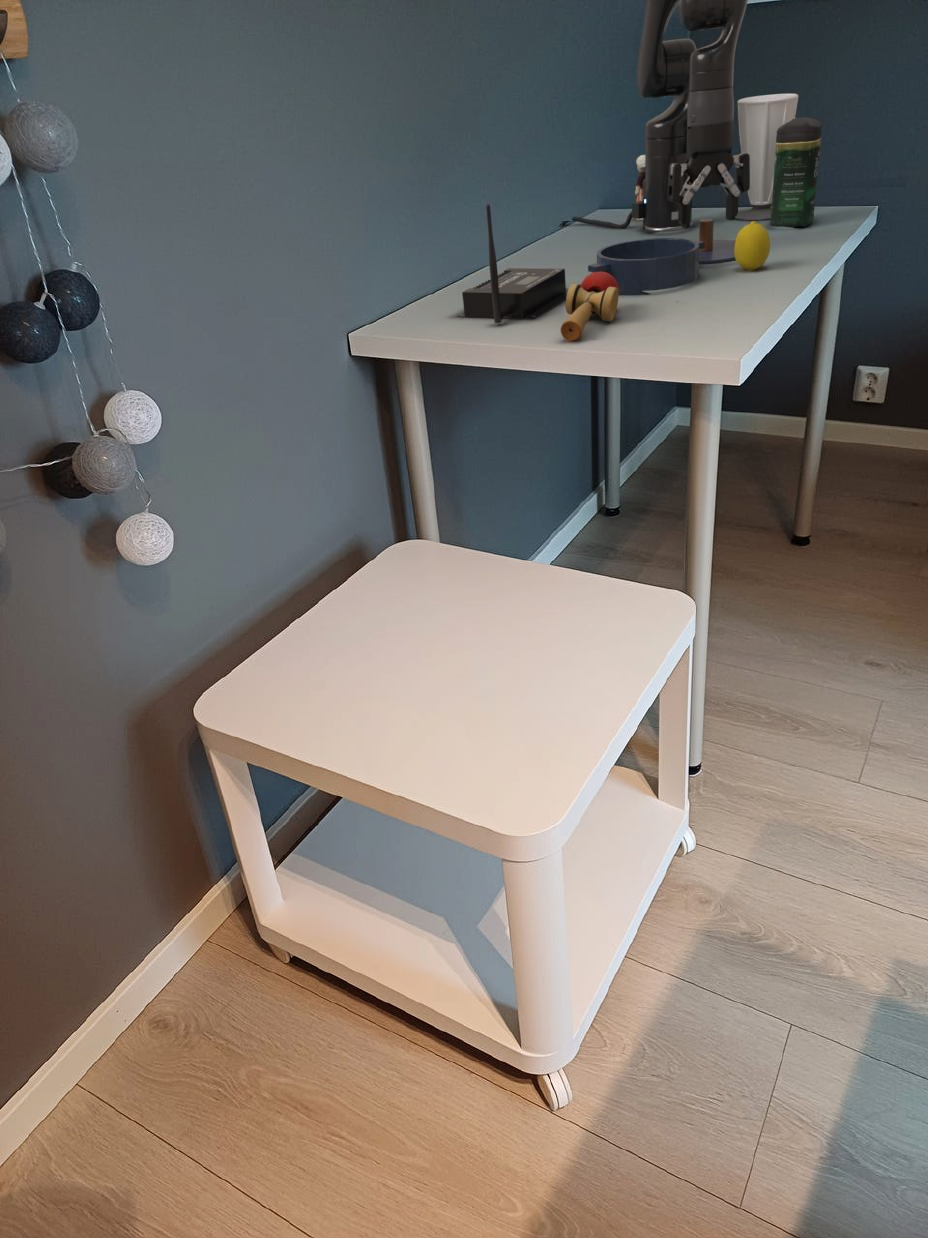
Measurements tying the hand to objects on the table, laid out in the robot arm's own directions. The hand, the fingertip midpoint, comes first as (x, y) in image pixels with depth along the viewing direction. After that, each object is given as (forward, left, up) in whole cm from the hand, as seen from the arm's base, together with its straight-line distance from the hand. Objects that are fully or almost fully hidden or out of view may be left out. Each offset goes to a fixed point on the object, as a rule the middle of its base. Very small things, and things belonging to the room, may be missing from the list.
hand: (707, 223), depth 165 cm
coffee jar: (-8, +28, -6) cm, 30 cm away
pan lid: (0, 0, -5) cm, 5 cm away
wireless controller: (+3, -42, -6) cm, 43 cm away
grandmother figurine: (-41, +17, -6) cm, 45 cm away
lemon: (+16, -4, -6) cm, 17 cm away
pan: (+7, -18, -6) cm, 20 cm away
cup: (-21, +32, -6) cm, 39 cm away
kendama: (+21, -39, -6) cm, 45 cm away
